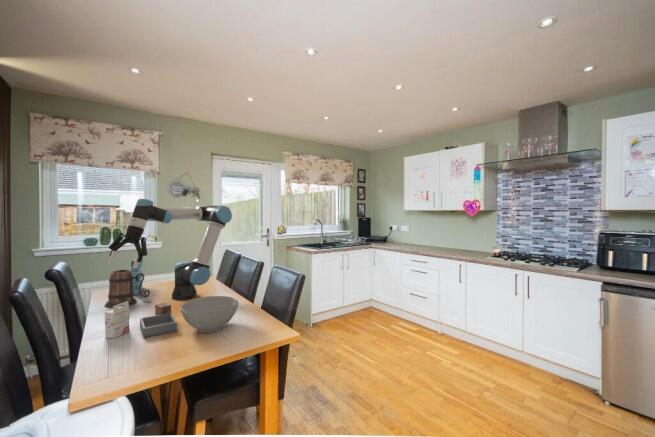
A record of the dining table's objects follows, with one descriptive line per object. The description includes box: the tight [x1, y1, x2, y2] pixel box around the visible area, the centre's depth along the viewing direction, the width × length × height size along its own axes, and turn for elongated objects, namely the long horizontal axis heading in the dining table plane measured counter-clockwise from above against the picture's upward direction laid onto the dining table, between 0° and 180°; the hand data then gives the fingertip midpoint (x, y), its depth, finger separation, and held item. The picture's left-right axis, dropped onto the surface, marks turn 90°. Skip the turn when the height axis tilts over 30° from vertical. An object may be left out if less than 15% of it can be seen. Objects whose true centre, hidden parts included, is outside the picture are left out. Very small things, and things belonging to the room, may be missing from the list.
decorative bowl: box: [179, 295, 240, 333], centre depth 146 cm, size 27×27×12 cm
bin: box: [139, 312, 178, 339], centre depth 143 cm, size 14×16×4 cm
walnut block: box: [154, 302, 172, 316], centre depth 155 cm, size 5×7×8 cm
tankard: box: [103, 269, 151, 309], centre depth 181 cm, size 24×17×20 cm
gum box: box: [130, 256, 144, 296], centre depth 206 cm, size 20×5×23 cm, turn 26°
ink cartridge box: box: [104, 301, 130, 339], centre depth 137 cm, size 9×5×15 cm, turn 168°
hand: (122, 265), depth 153 cm, fingers open, 13 cm apart
